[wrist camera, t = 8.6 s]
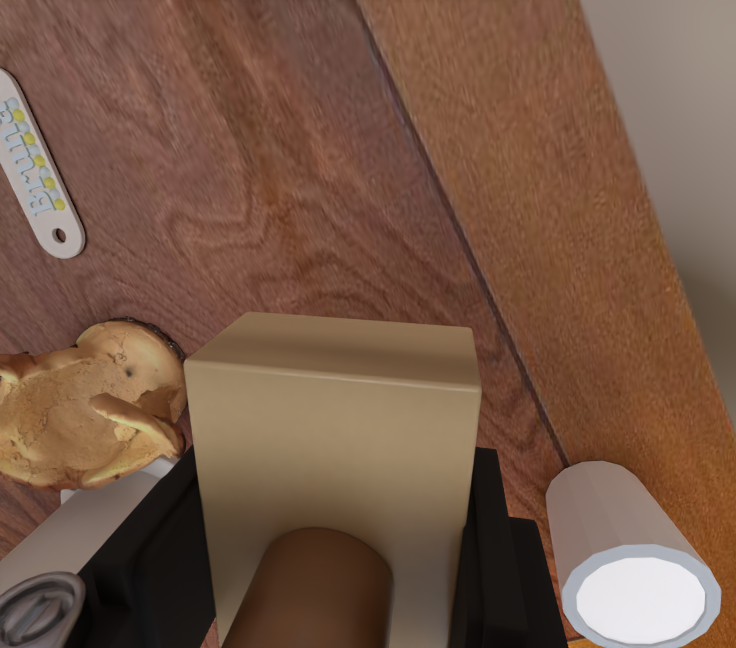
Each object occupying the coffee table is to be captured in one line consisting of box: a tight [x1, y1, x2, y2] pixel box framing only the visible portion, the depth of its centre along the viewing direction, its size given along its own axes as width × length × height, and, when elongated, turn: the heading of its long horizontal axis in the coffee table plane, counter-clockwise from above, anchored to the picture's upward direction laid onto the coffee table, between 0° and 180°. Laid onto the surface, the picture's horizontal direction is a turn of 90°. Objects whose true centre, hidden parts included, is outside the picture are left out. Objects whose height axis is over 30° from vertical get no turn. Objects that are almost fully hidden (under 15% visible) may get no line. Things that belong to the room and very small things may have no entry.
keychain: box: [0, 68, 85, 259], centre depth 26 cm, size 10×1×3 cm
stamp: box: [183, 311, 482, 648], centre depth 8 cm, size 8×4×6 cm, turn 179°
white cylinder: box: [545, 461, 721, 648], centre depth 25 cm, size 7×7×7 cm
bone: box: [0, 316, 188, 492], centre depth 26 cm, size 12×10×8 cm
